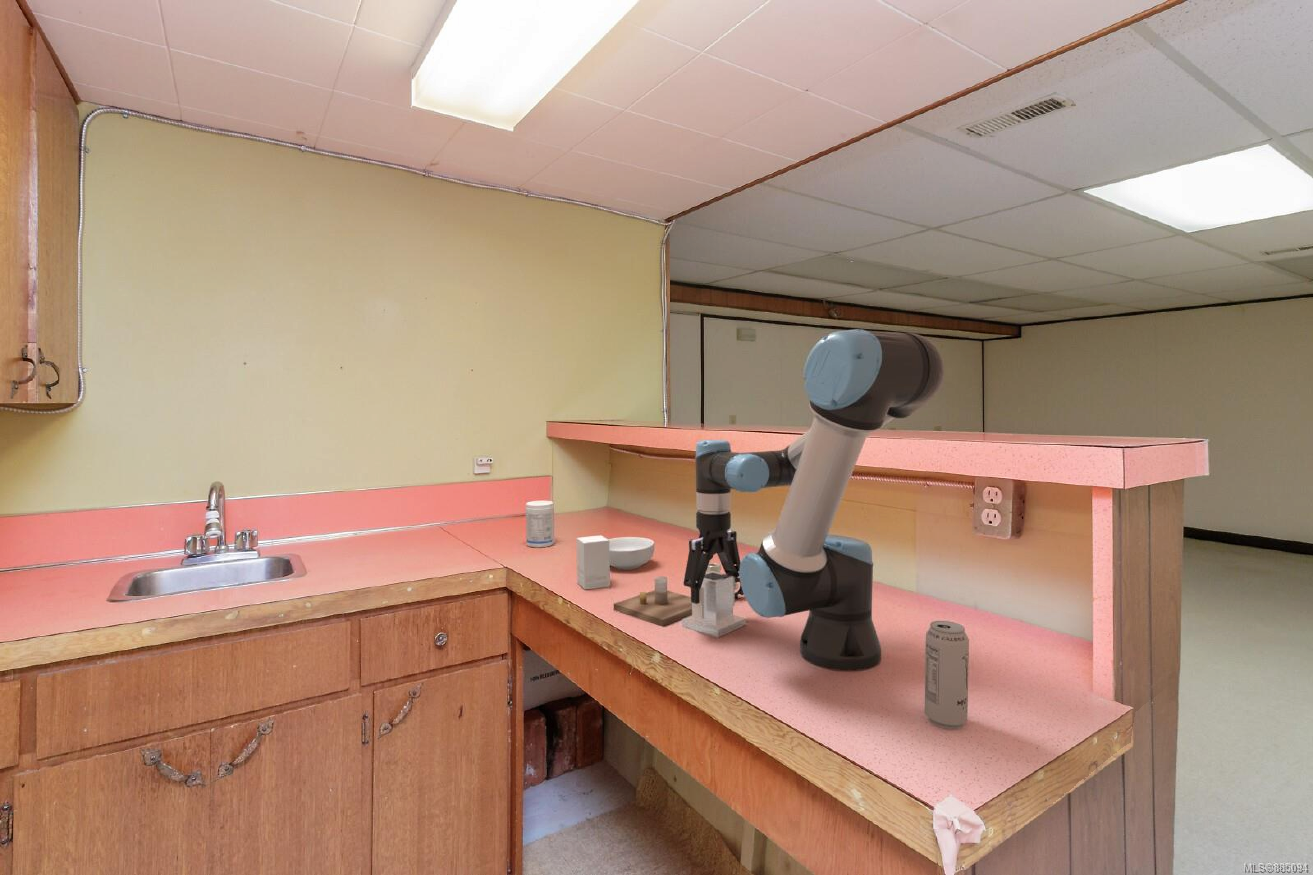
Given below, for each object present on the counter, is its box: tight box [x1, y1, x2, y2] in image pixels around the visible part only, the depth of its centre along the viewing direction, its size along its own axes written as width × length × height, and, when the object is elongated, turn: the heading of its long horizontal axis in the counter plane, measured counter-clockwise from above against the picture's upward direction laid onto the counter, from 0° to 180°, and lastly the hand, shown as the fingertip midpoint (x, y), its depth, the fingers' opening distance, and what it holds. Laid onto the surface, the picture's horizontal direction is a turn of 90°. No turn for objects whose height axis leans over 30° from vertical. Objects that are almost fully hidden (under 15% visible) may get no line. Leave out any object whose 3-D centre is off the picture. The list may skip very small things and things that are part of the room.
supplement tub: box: [525, 500, 555, 549], centre depth 217 cm, size 10×10×15 cm
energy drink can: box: [924, 620, 970, 730], centre depth 97 cm, size 6×6×15 cm
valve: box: [706, 562, 744, 601], centre depth 162 cm, size 7×7×12 cm
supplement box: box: [576, 535, 611, 591], centre depth 170 cm, size 7×7×13 cm
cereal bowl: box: [607, 536, 655, 571], centre depth 189 cm, size 17×17×7 cm
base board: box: [613, 575, 692, 627], centre depth 150 cm, size 16×16×8 cm
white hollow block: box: [681, 571, 747, 638], centre depth 139 cm, size 10×10×11 cm
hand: (713, 610), depth 139 cm, fingers open, 10 cm apart
